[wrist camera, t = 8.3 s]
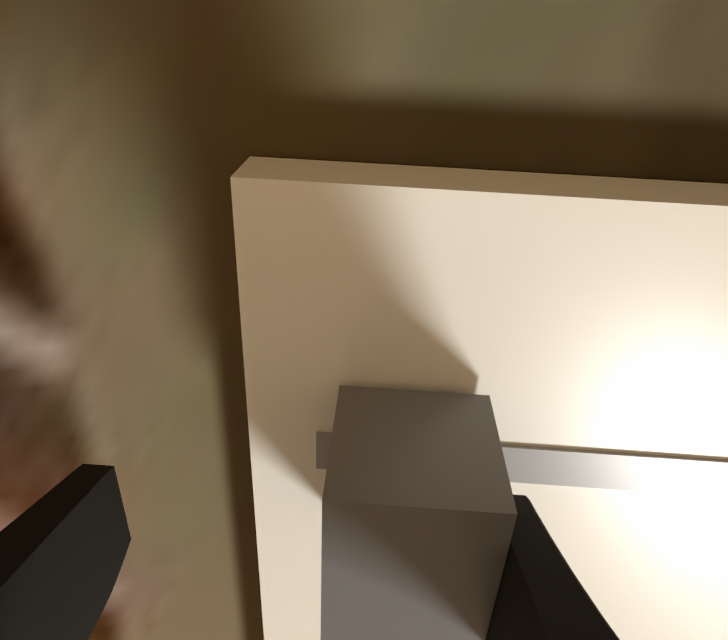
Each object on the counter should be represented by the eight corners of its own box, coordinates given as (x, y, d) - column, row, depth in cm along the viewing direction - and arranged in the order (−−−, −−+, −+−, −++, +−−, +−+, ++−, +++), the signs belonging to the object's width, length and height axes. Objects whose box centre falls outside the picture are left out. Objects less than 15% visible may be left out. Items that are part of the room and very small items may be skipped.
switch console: (282, 757, 23) (275, 809, 21) (250, 156, 11) (226, 179, 9) (606, 783, 22) (621, 838, 21) (933, 196, 11) (1021, 227, 9)
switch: (335, 523, 13) (320, 651, 11) (339, 385, 11) (321, 500, 9) (462, 532, 13) (479, 663, 11) (489, 395, 11) (517, 514, 9)
